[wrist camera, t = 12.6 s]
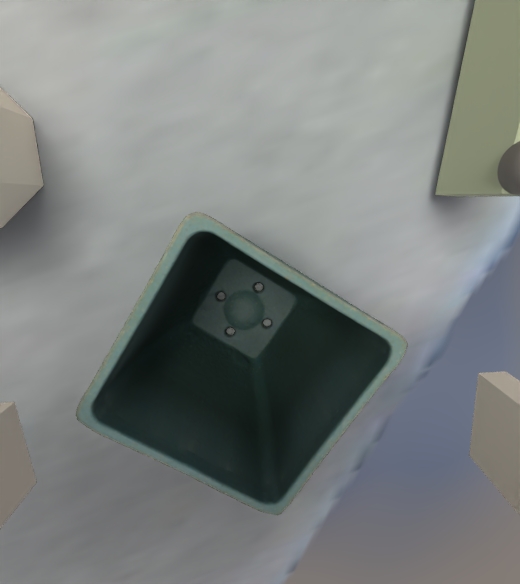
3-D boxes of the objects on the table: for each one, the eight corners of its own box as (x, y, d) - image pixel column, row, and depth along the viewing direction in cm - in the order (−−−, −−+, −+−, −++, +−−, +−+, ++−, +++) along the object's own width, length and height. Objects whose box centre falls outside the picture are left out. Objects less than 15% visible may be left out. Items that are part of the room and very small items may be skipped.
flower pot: (217, 201, 19) (189, 204, 10) (346, 283, 20) (417, 345, 12) (144, 329, 21) (67, 422, 12) (267, 395, 22) (277, 521, 14)
